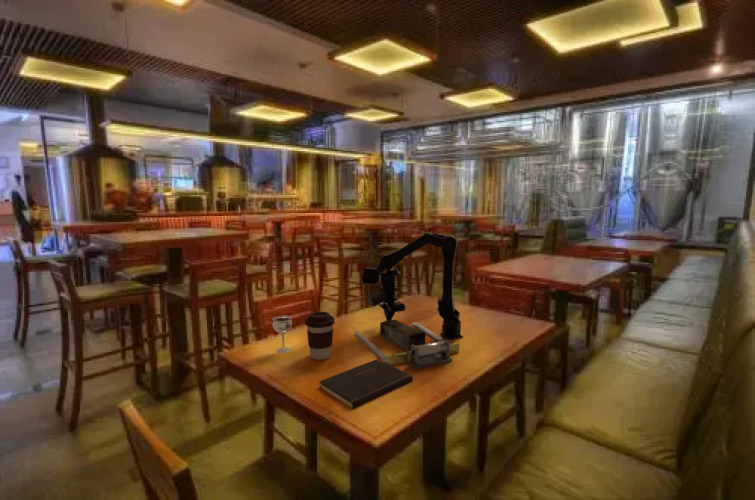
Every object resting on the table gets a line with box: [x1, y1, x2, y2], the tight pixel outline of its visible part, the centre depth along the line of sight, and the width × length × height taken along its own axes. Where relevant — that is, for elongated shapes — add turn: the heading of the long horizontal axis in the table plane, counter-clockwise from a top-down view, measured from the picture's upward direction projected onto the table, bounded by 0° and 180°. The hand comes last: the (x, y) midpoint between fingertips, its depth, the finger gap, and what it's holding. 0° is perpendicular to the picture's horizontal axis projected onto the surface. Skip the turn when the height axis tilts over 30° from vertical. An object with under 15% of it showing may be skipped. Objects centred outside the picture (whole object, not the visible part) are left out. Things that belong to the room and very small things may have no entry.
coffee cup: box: [304, 311, 335, 361], centre depth 136 cm, size 10×10×15 cm
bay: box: [354, 321, 460, 366], centre depth 149 cm, size 28×31×3 cm
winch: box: [405, 338, 453, 370], centre depth 131 cm, size 16×5×6 cm, turn 114°
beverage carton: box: [379, 319, 426, 352], centre depth 149 cm, size 8×19×7 cm, turn 34°
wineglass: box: [272, 314, 293, 354], centre depth 141 cm, size 7×7×12 cm
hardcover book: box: [318, 358, 413, 410], centre depth 117 cm, size 16×23×2 cm
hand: (388, 322), depth 161 cm, fingers closed
